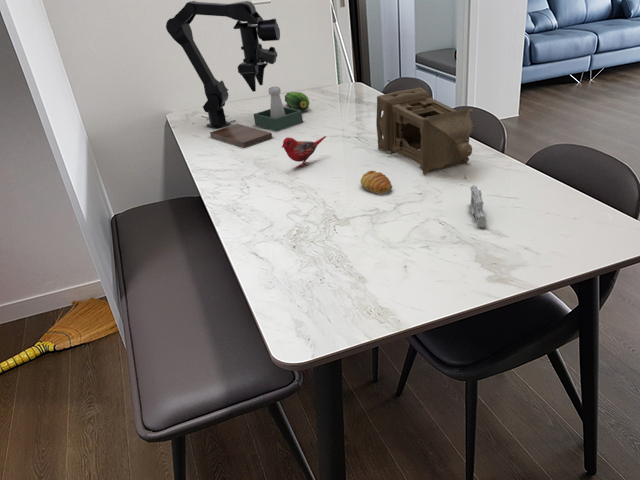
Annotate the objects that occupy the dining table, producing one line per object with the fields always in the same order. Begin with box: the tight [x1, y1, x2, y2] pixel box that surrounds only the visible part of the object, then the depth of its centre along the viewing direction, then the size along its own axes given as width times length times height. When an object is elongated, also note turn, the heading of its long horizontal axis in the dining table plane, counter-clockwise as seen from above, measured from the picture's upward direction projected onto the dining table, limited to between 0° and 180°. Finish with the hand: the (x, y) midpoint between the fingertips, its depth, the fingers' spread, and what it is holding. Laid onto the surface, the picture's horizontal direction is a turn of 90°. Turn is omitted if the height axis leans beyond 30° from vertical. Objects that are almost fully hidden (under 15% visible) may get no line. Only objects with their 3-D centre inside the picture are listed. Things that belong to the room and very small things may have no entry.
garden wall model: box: [469, 184, 486, 228], centre depth 123 cm, size 12×2×6 cm, turn 178°
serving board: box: [209, 123, 273, 149], centre depth 187 cm, size 20×12×2 cm, turn 46°
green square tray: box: [252, 106, 304, 132], centre depth 197 cm, size 13×13×4 cm
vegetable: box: [284, 91, 310, 112], centre depth 214 cm, size 7×7×20 cm
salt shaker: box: [268, 86, 286, 118], centre depth 195 cm, size 6×6×13 cm
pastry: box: [360, 170, 393, 195], centre depth 141 cm, size 9×7×4 cm
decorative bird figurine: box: [281, 135, 327, 168], centre depth 158 cm, size 3×18×10 cm, turn 137°
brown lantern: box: [375, 87, 474, 176], centre depth 152 cm, size 35×18×18 cm, turn 26°
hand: (257, 88), depth 193 cm, fingers open, 9 cm apart
